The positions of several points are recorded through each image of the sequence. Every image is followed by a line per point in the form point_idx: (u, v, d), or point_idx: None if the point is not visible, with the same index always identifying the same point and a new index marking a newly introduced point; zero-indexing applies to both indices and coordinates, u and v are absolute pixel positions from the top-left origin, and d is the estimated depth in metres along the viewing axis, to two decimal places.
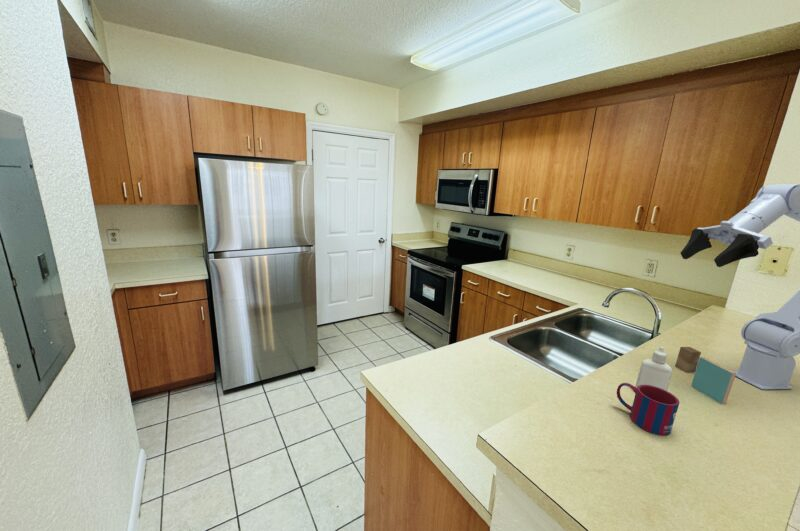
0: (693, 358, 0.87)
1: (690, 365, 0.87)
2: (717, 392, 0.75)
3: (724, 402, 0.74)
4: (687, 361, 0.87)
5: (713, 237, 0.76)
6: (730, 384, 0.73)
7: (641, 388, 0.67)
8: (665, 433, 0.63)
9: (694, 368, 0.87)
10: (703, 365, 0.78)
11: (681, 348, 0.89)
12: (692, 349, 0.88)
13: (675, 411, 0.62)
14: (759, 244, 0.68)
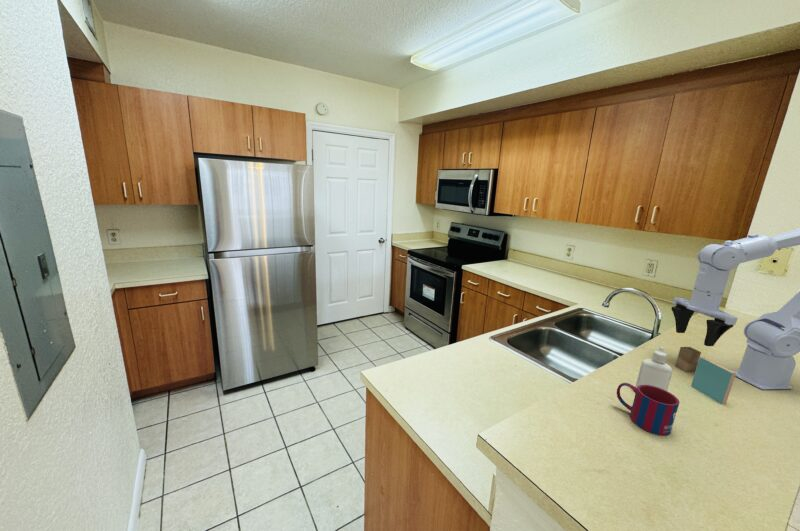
0: (693, 358, 0.87)
1: (690, 365, 0.87)
2: (717, 392, 0.75)
3: (724, 402, 0.74)
4: (687, 361, 0.87)
5: (691, 309, 0.88)
6: (730, 384, 0.73)
7: (641, 388, 0.67)
8: (665, 433, 0.63)
9: (694, 368, 0.87)
10: (703, 365, 0.78)
11: (681, 348, 0.89)
12: (692, 349, 0.88)
13: (675, 411, 0.62)
14: None
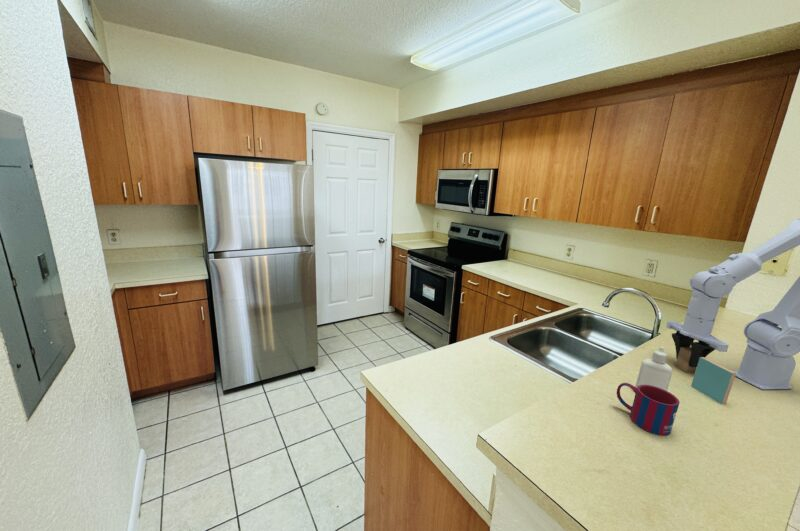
0: None
1: None
2: (717, 392, 0.75)
3: (724, 402, 0.74)
4: (687, 361, 0.87)
5: None
6: (730, 384, 0.73)
7: (641, 388, 0.67)
8: (665, 433, 0.63)
9: (694, 368, 0.87)
10: (703, 365, 0.78)
11: (681, 348, 0.89)
12: None
13: (675, 411, 0.62)
14: None
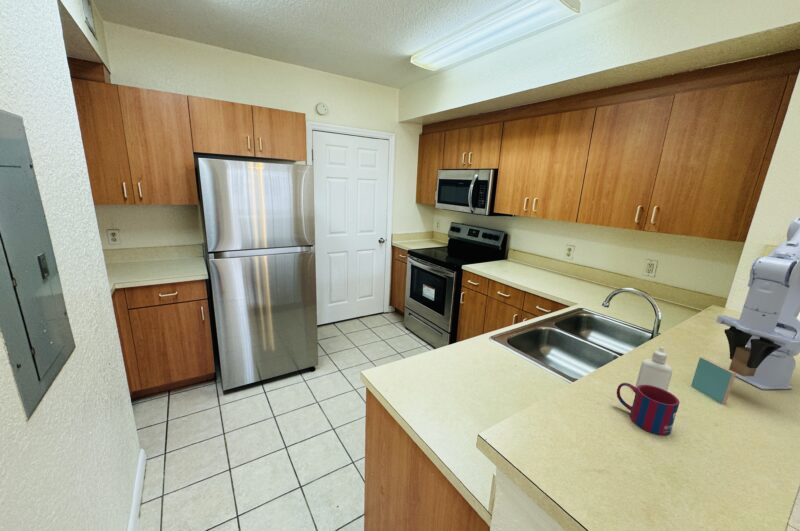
0: None
1: (748, 368, 0.75)
2: (717, 392, 0.75)
3: (724, 402, 0.74)
4: (746, 363, 0.75)
5: (739, 329, 0.77)
6: (730, 384, 0.73)
7: (641, 388, 0.67)
8: (665, 433, 0.63)
9: (753, 371, 0.76)
10: (703, 365, 0.78)
11: (737, 348, 0.77)
12: (750, 349, 0.76)
13: (675, 411, 0.62)
14: None
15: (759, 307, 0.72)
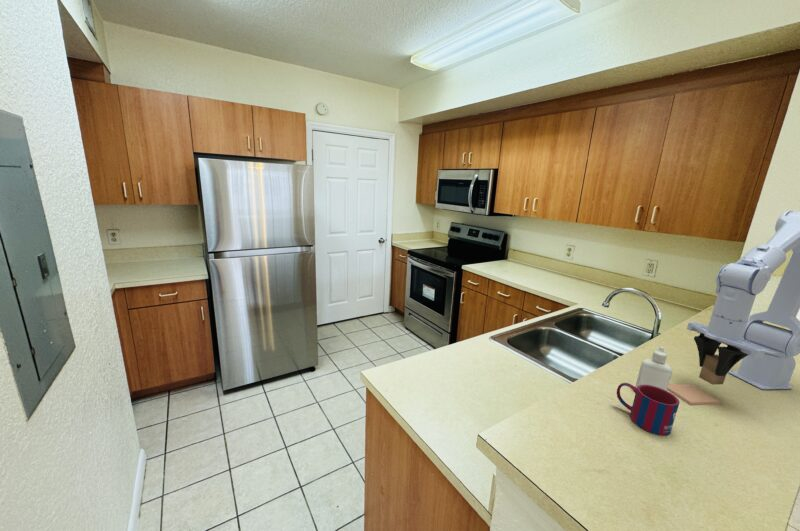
0: None
1: (717, 376, 0.75)
2: None
3: (719, 403, 0.74)
4: None
5: None
6: (701, 404, 0.73)
7: (641, 388, 0.67)
8: (665, 433, 0.63)
9: (722, 380, 0.75)
10: None
11: (706, 356, 0.76)
12: None
13: (675, 411, 0.62)
14: None
15: (724, 314, 0.71)
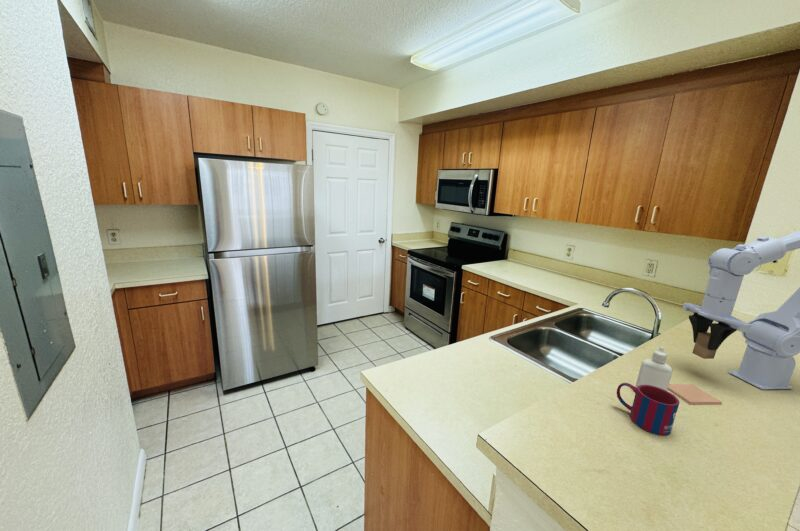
0: None
1: (709, 351, 0.83)
2: None
3: (719, 403, 0.74)
4: (706, 347, 0.83)
5: (702, 315, 0.85)
6: (701, 404, 0.73)
7: (641, 388, 0.67)
8: (665, 433, 0.63)
9: (713, 354, 0.83)
10: None
11: (699, 333, 0.84)
12: None
13: (675, 411, 0.62)
14: None
15: (710, 292, 0.81)
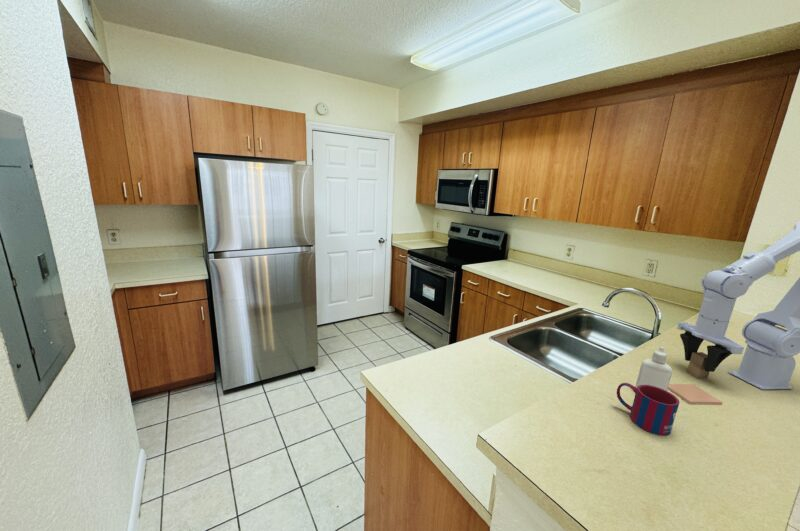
0: (705, 364, 0.84)
1: (702, 371, 0.84)
2: None
3: (720, 404, 0.74)
4: (700, 367, 0.84)
5: None
6: (701, 403, 0.73)
7: (641, 388, 0.67)
8: (665, 433, 0.63)
9: (706, 374, 0.85)
10: None
11: (693, 353, 0.86)
12: (704, 355, 0.85)
13: (675, 411, 0.62)
14: None
15: (703, 313, 0.82)
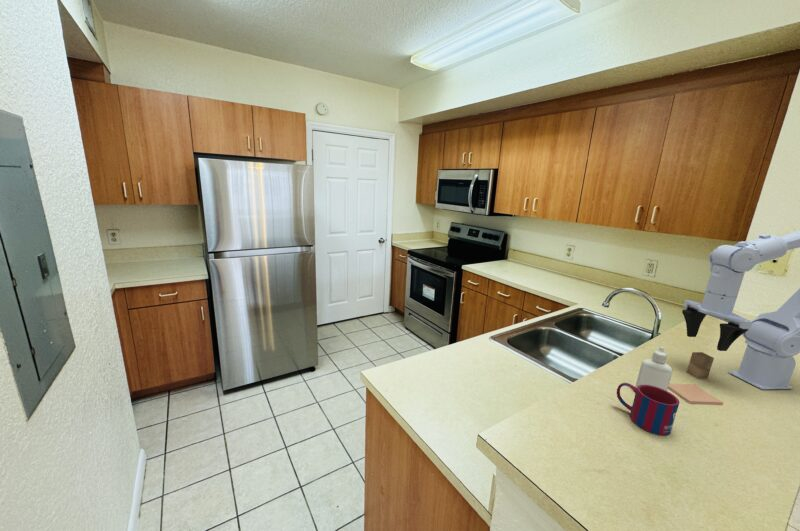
0: (705, 364, 0.84)
1: (702, 371, 0.84)
2: None
3: (720, 404, 0.74)
4: (700, 367, 0.84)
5: (702, 312, 0.85)
6: (701, 403, 0.74)
7: (641, 388, 0.67)
8: (665, 433, 0.63)
9: (706, 374, 0.85)
10: None
11: (693, 353, 0.86)
12: (704, 355, 0.85)
13: (675, 411, 0.62)
14: None
15: (711, 289, 0.80)
